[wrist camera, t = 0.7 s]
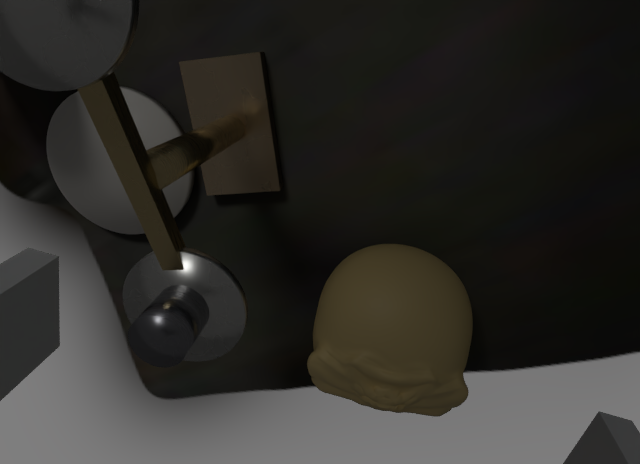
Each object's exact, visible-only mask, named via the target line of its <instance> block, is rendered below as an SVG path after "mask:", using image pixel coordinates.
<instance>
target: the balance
mask: <svg viewBox="0 0 640 464" xmlns="http://www.w3.org/2000/svg"><path fill="white" fill-rule="evenodd" d="M138 16H139V0H0V71H1V72H2V73H3V74H5V75H6V76H8V77H10V78H12V79H13V80H15V81H17V82H19V83H22V84H24V85H27V86H29V87H33V88H37V89H40V90H47V91H67V90H74V89H78V91H79V94H80V96H81V98H82V100H83V102H84V104H85V106H86V109H87V111H88V113H89V115H90V117H91V119H92V121H93V123H94V126H95V128H96V130H97V132H98V134H99V136H100V138H101V140H102V143H103V145H104V147H105V149H106V151H107V153H108V155H109V157H110V160H111V162H112V164H113V166H114V168H115V170H116V172H117V174H118V177H119V179H120V181H121V183H122V185H123V187H124V189H125V192H126V194H127V196H128V198H129V200H130V202H131V204H132V206H133V209H134V211H135V213H136V215H137V217H138V219H139V221H140V223H141V226H142V228H143V230H144V232H145V234H146V236H147V238H148V240H149V243H150V245H151V247H152V249H153V252H151V253H149V254H148V255H146V256H145V257H144V258H142V259H141V260H140V261H139V262H138V263H137V264H135V265H134V266H133V268H132V269H131V270H130V272H129V273H128V275H127V277H126V280H125V282H124V287H123V304H124V308H125V311H126V314H127V317H128V319H129V321H130V322H131V324H132V325H131V326H130V328H129V332H128V340H129V343H130V346H131V348H132V349H133V351H134V352H135V353H136V355H137V356H138V357H139V358H141V359H142V360H143V361H145V362H147V363H149V364H151V365H153V366H157V367H172V366H175V365H177V364H179V363H180V362H181V361H182V360H186V361H206V360H212V359H215V358H218V357H220V356H222V355H224V354H225V353H227V352H228V351H230V350H231V349H232V348H233V347H234V346H235V345H236V343H237V342H238V341H239V339H240V337H241V335H242V333H243V331H244V329H245V326H246V324H247V319H248V304H247V299H246V296H245V293H244V291H243V288H242V286H241V285H240V283H239V281H238V280H237V278H236V277H235V276H234V274H233V273H232V272H231V271H230V270H229V269H228V268H227V267H226V266H225V265H224V264H222V263H221V262H220V261H218V260H217V259H215V258H214V257H212V256H210V255H208V254H206V253H204V252H201V251H199V250H195V249H191V248H186V246H185V244H184V242H183V239H182V237H181V234H180V232H179V229H178V227H177V224H176V222H175V220H174V217H173V215H172V212H171V210H170V207H169V205H168V203H167V200H166V198H165V195H164V193H163V190H162V189H163V188H165V187H167V186H168V185H170V184H171V183H173V182H174V181H176V180H178V179H179V178H181V177H182V176H184V175H186V174H187V173H189V172H190V171H192V170H193V169H195V168H197V167H198V166H200V165H201V169H202V174H203V179H204V183H205V188H206V193H207V196H208V195H223V194H239V193H254V192H270V191H280V190H281V189H282V188H283V180H282V173H281V166H280V159H279V152H278V145H277V138H276V131H275V124H274V117H273V110H272V103H271V96H270V89H269V82H268V75H267V68H266V61H265V54H264V52H257V53H249V54H241V55H232V56H224V57H216V58H207V59H199V60H191V61H182V62H179V65H180V69H181V74H182V79H183V84H184V88H185V93H186V98H187V103H188V107H189V112H190V117H191V122H192V126H193V130H192V131H190V132H187V133H185V134H183V135H181V136H178V137H176V138H174V139H171V140H169V141H167V142H164V143H162V144H160V145H157V146H155V147H153V148H150V149H148V150H146V149H145V147H144V144H143V142H142V139H141V137H140V135H139V132H138V130H137V127H136V125H135V122H134V120H133V118H132V115H131V113H130V110H129V108H128V105H127V103H126V101H125V98H124V96H123V93H122V91H121V88H120V86H119V83H118V81H117V79H116V76H115V74H114V70H115V69H116V68H117V67H118V66H119V65H120V63H121V62H122V61H123V59H124V57H125V56H126V54H127V53H128V50H129V48H130V46H131V44H132V42H133V38H134V35H135V32H136V28H137V22H138Z"/></svg>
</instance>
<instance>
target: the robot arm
mask: <svg viewBox="0 0 640 464" xmlns="http://www.w3.org/2000/svg"><path fill="white" fill-rule="evenodd" d="M58 260H59V257H58V256H55V255H52V254H48V253H45V252H42V251H37V250H34V249H31V248H27V249H25V250H24V251H22V252H20V253H18V254H17V255H15V256H13V257H12V258H10V259H8V260H6V261H4V262H3V263H1V264H0V401H1V400H2V399H3V398H4V397H5V396H6V395H7V394H8V393H9V392H10V391H11V390H13V389H14V388H15V387H16V386H17V385H18V384H19V383H20V382H21V381H22V380H23V379H24V378H25V377H27V376H28V375H29V374H30V373H31V372H32V371H33V370H34V369H35V368H36V367H37V366H38V365H40V364H41V363H42V362H43V361H44V360H45V359H46V358H47V357H48V356H49V355H50V354H51V353H52V352H54V351H55V349H57V348H58V347H59V345H60V341H59V340H60V338H59V337H60V336H59V261H58ZM563 464H640V433H639V431H638V430H637V428H636V427H635V425H634V423H633V422H632V421H630V420H627V419H623V418H620V417H616V416H613V415H609V414H606V413H603V412H598V414H597V415H596V416H595V418H594V419H593V421H592V422H591V424H590V425H589V427H588V428H587V430H586V431H585V433H584V434H583V436H582V437H581V438H580V440H579V441H578V443H577V444H576V446H575V447H574V449H573V450H572V452H571V453H570V454H569V456H568V458H567V459H566V460H565V462H564V463H563Z"/></svg>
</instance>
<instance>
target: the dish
mask: <svg viewBox="0 0 640 464" xmlns="http://www.w3.org/2000/svg"><path fill="white" fill-rule="evenodd" d="M120 88H121V91H122V93H123V96H124V98H125V101H126V103H127V105H128V108H129V110H130V113H131V115H132V118H133V120H134V122H135V125H136V127H137V130H138V132H139V135H140V137H141V139H142V142H143V144H144V147H145V149H146V150H148V149H150V148H153V147H155V146H157V145H160V144H162V143H164V142H167V141H169V140H171V139H174V138H176V137H178V136H181V135H183V134H185V133H184V131H183V129H182V127H181V126H180V124H179V123H178V122H177V120H176V119H175V118H174V116H173V115H172V114H171V113H170V112H169V111H168V110H167V109H166V108H165V107H164V106H163V105H162V104H160V103H159V102H158V101H156V100H155V99H153V98H152V97H150V96H148V95H147V94H145V93H143V92H141V91H138V90H136V89H133V88H129V87H125V86H120ZM46 148H47V157H48V162H49V166H50V170H51V172H52V175H53V177H54V180H55V182H56V184H57V185H58V187H59V189H60V191H61V192H62V194H63V195H64V197H65V198H66V199H67V200H68V202H69V203H70V204H71V205H72V206H73V207H74V208H75V209H76V210H77V211H78V212H79V213H80V214H82V215H83V216H84V217H85V218H87V219H88V220H90V221H91V222H93V223H95V224H97V225H98V226H100V227H102V228H105V229H108V230H110V231H114V232H117V233H123V234H143V233H145V232H144V230H143V228H142V226H141V223H140V221H139V219H138V217H137V215H136V213H135V211H134V209H133V206H132V204H131V202H130V200H129V198H128V196H127V194H126V192H125V189H124V187H123V185H122V183H121V181H120V179H119V177H118V174H117V172H116V170H115V168H114V166H113V164H112V162H111V160H110V157H109V155H108V153H107V151H106V149H105V147H104V145H103V143H102V140H101V138H100V136H99V134H98V132H97V130H96V128H95V126H94V123H93V121H92V119H91V117H90V115H89V113H88V111H87V109H86V106H85V104H84V102H83V100H82V98H81V96H80V94H79V91H77V92H76V93H74V94H72V95H70V96H69V97H68V98H67V99H65V100H64V101H63V102H62V103H61V104H60V105H59V107H58V108H57V109H56V111H55V113H54V114H53V116H52V119H51V121H50V123H49V127H48V131H47V140H46ZM194 180H195V169H193V170H192V171H190V172H189V173H187V174H186V175H184V176H182V177H181V178H179V179H178V180H176V181H174V182H173V183H171V184H170V185H168V186H167V187H165V188H163V189H162V190H163V193H164V195H165V198H166V200H167V203H168V205H169V207H170V210H171V212H172V215H173V217H174V218H175V217H176V216H177V215H178V214H179V213H180V212H181V211H182V210H183V208H184V207H185V206H186V204H187V202H188V201H189V198H190V196H191V193H192V190H193V186H194Z"/></svg>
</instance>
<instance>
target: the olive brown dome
mask: <svg viewBox="0 0 640 464" xmlns="http://www.w3.org/2000/svg"><path fill="white" fill-rule="evenodd" d="M472 330H473V318H472V309H471V304H470V300H469V297H468V294H467V292H466V289H465V287H464V285H463V284H462V282H461V280H460V279H459V278H458V276H457V275H456V274H455V273H454V271H453V270H452V269H451V268H450V267H449V266H448V265H446V264H445V263H444V262H443V261H441V260H440V259H438V258H437V257H435V256H434V255H432V254H430V253H428V252H426V251H423V250H421V249H418V248H415V247H412V246H407V245H402V244H379V245H374V246H369V247H366V248H363V249H361V250H358V251H356V252H354V253H353V254H351V255H349V256H348V257H347V258H345V259H344V260H343V261H342V262H341V263H340V264H339V265H338V266H337V267H336V268H335V269H334V271H333V272H332V273H331V275H330V276H329V278H328V280H327V282H326V284H325V286H324V288H323V291H322V293H321V296H320V300H319V304H318V308H317V313H316V317H315V322H314V328H313V347H314V352H312V353H311V354H310V356H309V358H308V361H307V367H308V371H309V374H310V375H311V376H312V378H311V379H312V382H313V383H314V385H315V386H316V387H317V388H318V389H319V390H321V391H323V392H325V393H329V394H332V395H336V396H340V397H343V398H346V399H350V400H352V401H354V402H356V403H358V404H361V405H365V406H369V407H371V408H374V409H378V410H382V411H392V412H396V413H401V412H408V413H416V414H422V415H428V416H441V415H443V414H445V413H447V412H448V411H450V410H451V408H454V407H457V406H459V405H461V404H462V403H463V402H464V401H465V400H466V398H467V396H468V388H467V386H466V384H465V381H464V378H463V372H464V369H465V366H466V363H467V359H468V355H469V349H470V344H471V339H472Z"/></svg>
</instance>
